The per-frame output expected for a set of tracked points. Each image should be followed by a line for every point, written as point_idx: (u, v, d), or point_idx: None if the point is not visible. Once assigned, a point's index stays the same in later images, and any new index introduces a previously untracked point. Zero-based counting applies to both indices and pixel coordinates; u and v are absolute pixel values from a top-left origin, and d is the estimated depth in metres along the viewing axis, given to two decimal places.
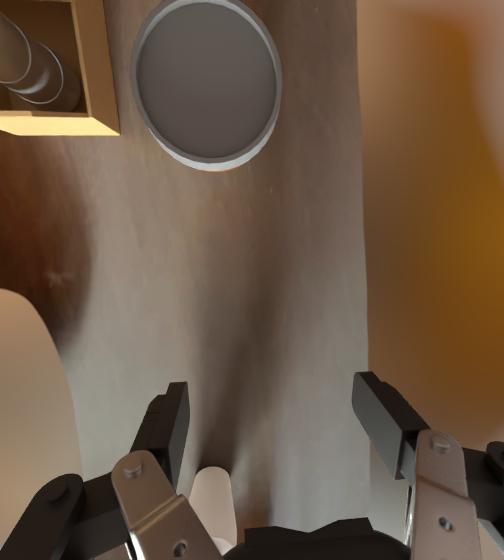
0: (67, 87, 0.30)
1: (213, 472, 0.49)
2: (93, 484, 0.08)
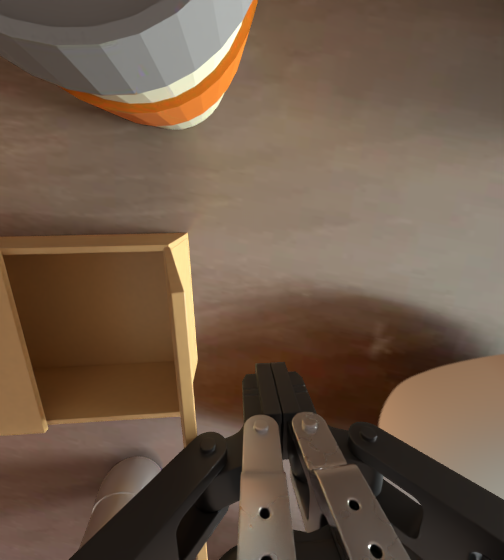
0: (133, 485, 0.26)
1: None
2: (226, 443, 0.09)
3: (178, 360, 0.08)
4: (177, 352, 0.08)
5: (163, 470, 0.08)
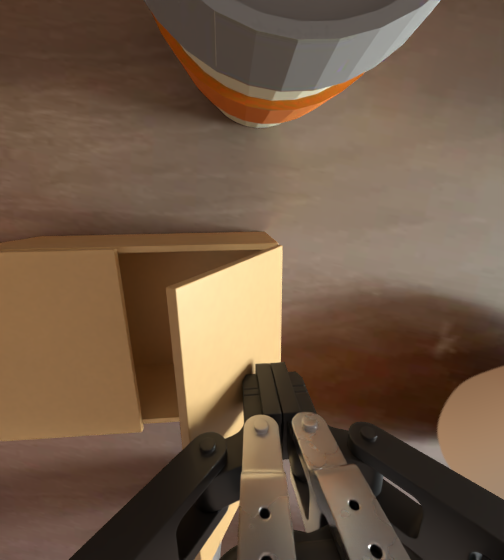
0: None
1: None
2: (226, 443, 0.09)
3: (172, 351, 0.09)
4: None
5: (163, 470, 0.08)
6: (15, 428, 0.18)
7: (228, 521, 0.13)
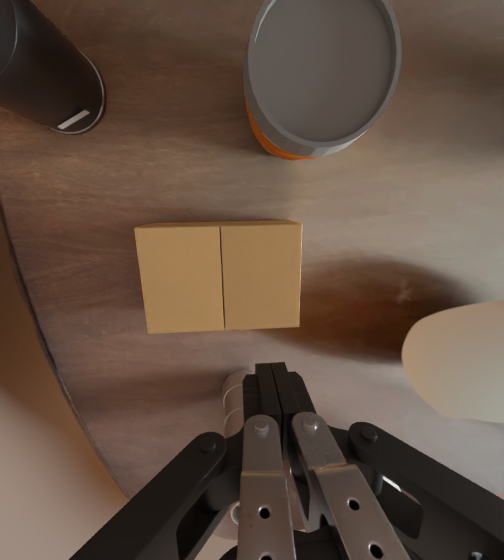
0: None
1: None
2: (226, 443, 0.09)
3: None
4: (221, 242, 0.31)
5: (163, 470, 0.08)
6: (156, 326, 0.33)
7: (242, 327, 0.34)
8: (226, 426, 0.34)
